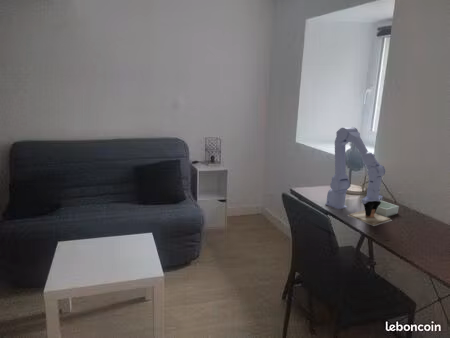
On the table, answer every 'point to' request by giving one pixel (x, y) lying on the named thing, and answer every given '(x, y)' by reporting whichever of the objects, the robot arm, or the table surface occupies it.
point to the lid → (370, 217)
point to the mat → (371, 224)
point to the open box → (387, 209)
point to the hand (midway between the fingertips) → (369, 214)
